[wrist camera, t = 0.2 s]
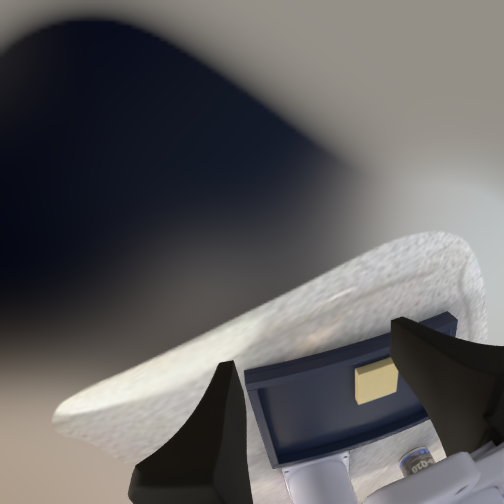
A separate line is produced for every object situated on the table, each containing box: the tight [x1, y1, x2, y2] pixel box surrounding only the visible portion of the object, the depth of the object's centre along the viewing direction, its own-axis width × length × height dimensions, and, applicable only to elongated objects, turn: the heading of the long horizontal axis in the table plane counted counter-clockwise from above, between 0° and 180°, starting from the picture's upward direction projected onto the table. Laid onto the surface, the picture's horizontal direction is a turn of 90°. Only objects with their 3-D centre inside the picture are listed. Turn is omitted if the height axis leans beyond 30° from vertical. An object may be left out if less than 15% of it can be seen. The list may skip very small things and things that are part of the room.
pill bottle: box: [399, 447, 435, 477], centre depth 28 cm, size 5×5×8 cm
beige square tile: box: [355, 357, 398, 405], centre depth 25 cm, size 4×4×1 cm
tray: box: [244, 311, 458, 469], centre depth 26 cm, size 14×20×2 cm
